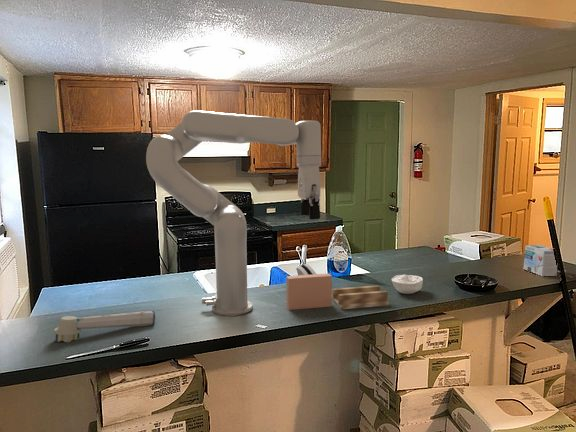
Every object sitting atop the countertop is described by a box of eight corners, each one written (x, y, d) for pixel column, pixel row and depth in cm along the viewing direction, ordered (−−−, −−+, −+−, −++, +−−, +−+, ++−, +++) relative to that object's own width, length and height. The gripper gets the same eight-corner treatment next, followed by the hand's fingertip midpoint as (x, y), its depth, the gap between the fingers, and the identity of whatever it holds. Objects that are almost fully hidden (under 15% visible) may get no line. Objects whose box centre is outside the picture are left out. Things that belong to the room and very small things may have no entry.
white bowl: (429, 292, 151) (430, 273, 150) (408, 299, 143) (409, 279, 143) (405, 285, 159) (406, 267, 158) (384, 292, 151) (385, 273, 150)
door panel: (288, 309, 135) (288, 278, 133) (286, 306, 138) (286, 276, 136) (331, 306, 138) (331, 275, 136) (328, 303, 140) (329, 273, 139)
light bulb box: (522, 270, 178) (524, 245, 177) (537, 269, 180) (539, 244, 178) (542, 277, 168) (544, 250, 167) (557, 276, 169) (559, 249, 168)
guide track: (341, 309, 135) (341, 296, 134) (331, 299, 144) (331, 287, 144) (389, 305, 138) (389, 293, 137) (376, 295, 148) (376, 284, 147)
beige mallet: (156, 313, 122) (55, 317, 110) (154, 336, 122) (53, 343, 110) (152, 307, 126) (55, 311, 114) (150, 330, 127) (53, 336, 115)
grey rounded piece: (328, 295, 148) (319, 269, 146) (316, 301, 147) (306, 275, 145) (313, 282, 164) (305, 258, 162) (302, 287, 163) (293, 263, 161)
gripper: (290, 161, 140) (292, 214, 143) (304, 162, 124) (306, 221, 126) (312, 161, 142) (314, 212, 144) (329, 161, 125) (330, 220, 128)
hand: (310, 216), depth 135 cm, fingers open, 9 cm apart
